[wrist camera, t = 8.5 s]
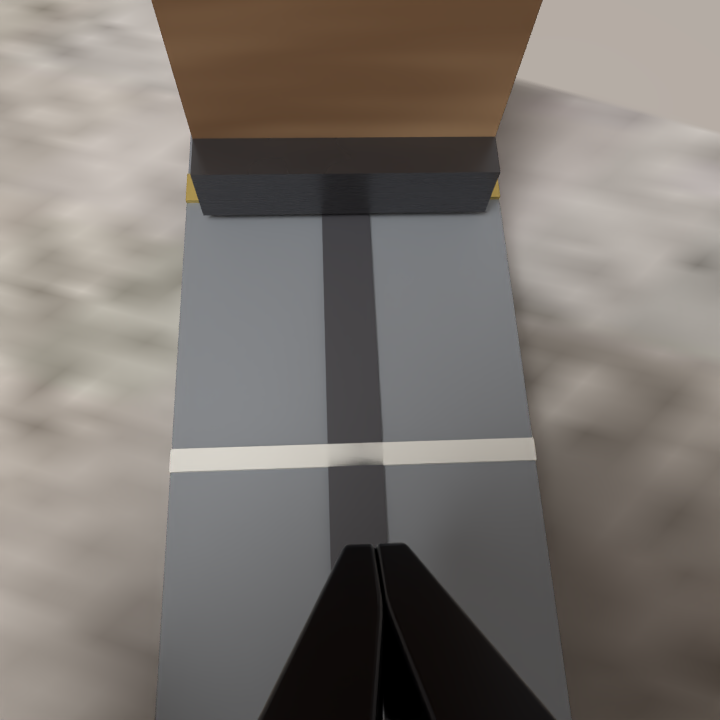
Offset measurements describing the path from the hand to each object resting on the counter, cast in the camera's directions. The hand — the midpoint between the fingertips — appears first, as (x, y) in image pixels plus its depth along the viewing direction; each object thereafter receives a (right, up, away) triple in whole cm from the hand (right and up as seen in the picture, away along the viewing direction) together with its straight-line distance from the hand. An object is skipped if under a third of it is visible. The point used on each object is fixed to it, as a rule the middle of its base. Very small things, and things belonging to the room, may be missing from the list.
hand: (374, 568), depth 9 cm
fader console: (0, +1, +8) cm, 8 cm away
